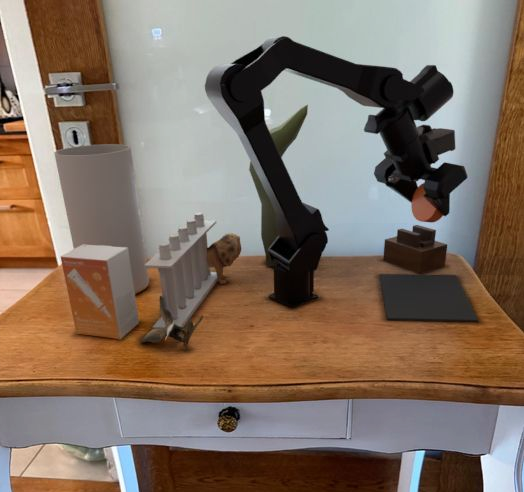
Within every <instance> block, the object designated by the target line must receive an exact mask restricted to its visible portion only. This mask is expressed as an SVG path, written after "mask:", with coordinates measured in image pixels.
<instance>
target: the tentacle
mask: <svg viewBox="0 0 524 492" xmlns="http://www.w3.org/2000/svg"><path fill="white" fill-rule="evenodd" d="M308 107H309V105H308V104H306V105H304V106H303V107H300V108H299V109H298V110H297V111H295V113H293V114H292V115H290V117H288V119H286V120H285V121H284V122H282V123H281V124H280V125H278V126H276V127H273V128H271V129H269V132H270V134H271V136H272V138H273V140H274V142H275V145H276V147H277V149H278V151H279V153H280V156H281V158H283V156H284V155H285V153H286V151H287V149H289V147H290V146H291V145H292V144H293V143H294V141H296V139H297V137H298V136H299V133H300V130H301V129H302V127H303V125H304V122H305V120H306V117H307V116H308ZM249 161H250V160H249ZM248 171H249V173H250V176H251V178H252V181H253V183H254V184H253V185H254V187H255V189H256V193H257V196H258V198H259V202H260V204H261V205H260V208H261V211H260V212H261V214H260V215H261V217H260V221H261V222H260V237H261V242H262V246H263V249H264V255H265V266H266V267H273V268H274V266H276V265H277V263H276V262H274V261H272V260H271V259H270V257H269V254H268V252H267V250H268V248H269V247H270V246H271V245H272V243H273V242H274V241H275V240H276V238H277V237H278V236H279V234H278V230H277V227H276V212H275V209H274V207H273V205H272V203H271V201H270V199H269V197H268V195H267V193H266V191H265V189H264V187H263V185H262V183H261V181H260V179H259V177H258V175H257V173H256V171H255V169H254V167H253V165H252V163H251V161H250V162H249V168H248ZM300 200H301V202H302V203H303V200H302V199H301V198H300Z"/></svg>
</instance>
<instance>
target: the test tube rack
mask: <svg viewBox="0 0 524 492" xmlns="http://www.w3.org/2000/svg"><path fill="white" fill-rule="evenodd" d="M216 224H217V220H206V219H205V215H204V213H203V212H195V213H194V216H193V218H190V219H187V220H186V223H185V225H183V226H179V227H178V230H177V233H172V234H169V235H168V241H167V242H165V241H164V242H160V243H159V244H158V252H157V253H156V254H155V255H154V256H152V257H151V258H150V259H149V260H148V261H147V263H146V264H145V265H144V268H148V269H157V272H158V273H159V274H158V275H159V282H160V287H161V296H162V297H163V298H164V304H165V307H166V309H168V310H169V311H170V313H171V315H172V317H173V322H174V324H176V325H177V326H180V327H182V328H185V326H186V325H187V323H188V319H190V320H191V318H192V317H193V315H194V313H196V311H197V310H198V308H199V307H200V305H201V304H202V302H203V301H204V300H205V298H206V297H207V296H208V295H209V293H210V291H211V290H212V289H213V288H214V286H215V285H216V284H217V282H219V281H218V279H217V275H216V271H211V268H208V265H207V261H206V257H207V249H206V248H208V247H209V246H208V236H207V235H208V232H209V231H210V230H211V229H213V228H214V226H215V225H216ZM165 326H166V323H165V321H164V320H163V318H162V316H161V315H160V318H158V320H157V321H156V322H155V323H154V324H153V325H152V330H153V329H160V328H164V327H165Z"/></svg>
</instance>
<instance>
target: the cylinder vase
mask: <svg viewBox="0 0 524 492" xmlns="http://www.w3.org/2000/svg"><path fill="white" fill-rule="evenodd" d="M53 154H54V158H55V164H56V169H57V174H58V179H59V183H60V189H61V193H62V198H63V202H64V208H65V212H66V217H67V223H68V227H69V232H70V237H71V241H72V247H73V249H75V248H77V247H79V246H81V245H84V244H85V245H98V246H99V245H104V246H113V247H127V248H128V252H129V259H130V265H131V272H132V278H133V285H134V291H135V295H137V294H139V293H140V292H142V291H144V290H145V289H146V288H147V287H148V286H149V285H150V277H149V268H144V265H145V264H146V263H147V262H148V261H147V254H146V249H145V248H146V247H145V240H144V232H143V225H142V218H141V211H140V205H139V197H138V189H137V183H136V176H135V169H134V162H133V155H132V147H131V146H130V145H127V144H118V143H108V144H107V143H105V144H103V143H102V144H88V145H79V146H71V147H66V148H61V149H57V150H56V151H54V152H53Z"/></svg>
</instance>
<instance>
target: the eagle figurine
mask: <svg viewBox="0 0 524 492" xmlns="http://www.w3.org/2000/svg"><path fill="white" fill-rule="evenodd" d="M159 314H160V317H161V316H162V318H163V320H164V321H165V323H166V326H165V327H164V328H160V329H153V328H152V329H151V330H150V331H149V332H147V334H146V335H144V336H142V339H141V340H140V343H146V342H151V343H153V344H154V343H159V342H160V341H162V340H163V339H164V338H165V339H164V341H165V342H166V341H167V340H168V338H169V337H170V338H173V340H175V341H178V342H180V343H183V345H182V346H183V348H184V350H185V351H188V350H189V349H188V346H189V342H190V340H191V337H192V335H193V333H194V331H195V330H196V329H197V327H198V326H199V325H200V323H201V322H202V320H203V318H204V315H203V314H201V315H200V317H199V318H198V319H197V320H196V321H195V323H194V322H193V321H192V320H191V318H190V319H188V322H187V323H186V327H183V328H182V327H180V326H177V325H176V324H174V322H173V317H172V315H171V313H170V311H169V310H168V309H166V307H165V304H164V298H163V297H162V295H160V296H159ZM182 335H183V336H182Z"/></svg>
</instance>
